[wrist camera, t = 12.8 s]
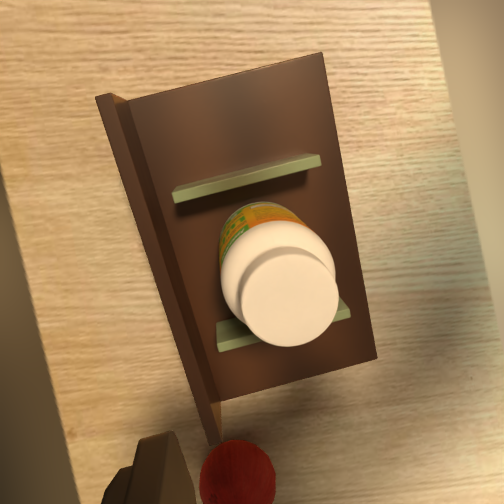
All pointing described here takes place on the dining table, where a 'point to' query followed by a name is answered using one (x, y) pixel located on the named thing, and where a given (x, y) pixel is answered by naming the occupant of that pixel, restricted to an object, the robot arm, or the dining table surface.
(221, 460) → the onion
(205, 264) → the wooden divided tray
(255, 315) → the supplement bottle
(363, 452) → the dining table surface
